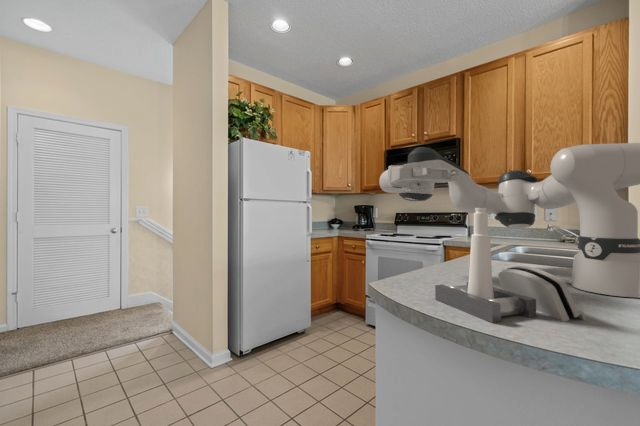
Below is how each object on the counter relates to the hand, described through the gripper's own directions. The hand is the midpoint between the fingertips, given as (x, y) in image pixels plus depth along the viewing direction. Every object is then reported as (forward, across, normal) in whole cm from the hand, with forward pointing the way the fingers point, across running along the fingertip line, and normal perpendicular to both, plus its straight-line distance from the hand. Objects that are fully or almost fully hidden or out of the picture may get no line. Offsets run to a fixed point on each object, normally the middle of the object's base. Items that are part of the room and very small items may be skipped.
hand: (443, 171), depth 80 cm
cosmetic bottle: (+14, +2, -32) cm, 35 cm away
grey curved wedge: (+18, -9, -32) cm, 38 cm away
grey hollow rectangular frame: (+14, +2, -32) cm, 35 cm away
